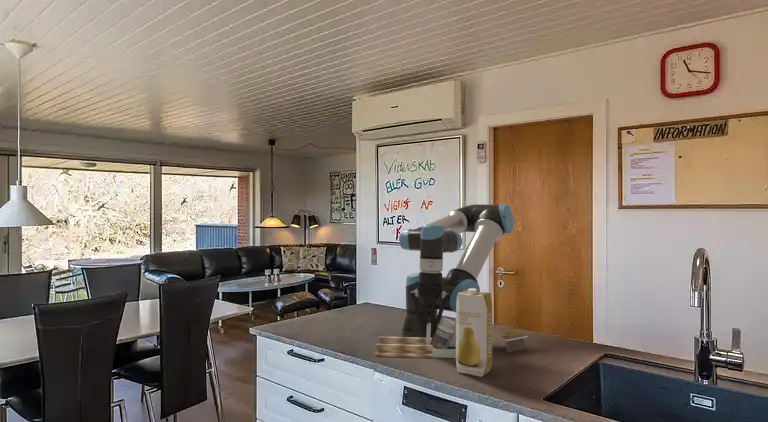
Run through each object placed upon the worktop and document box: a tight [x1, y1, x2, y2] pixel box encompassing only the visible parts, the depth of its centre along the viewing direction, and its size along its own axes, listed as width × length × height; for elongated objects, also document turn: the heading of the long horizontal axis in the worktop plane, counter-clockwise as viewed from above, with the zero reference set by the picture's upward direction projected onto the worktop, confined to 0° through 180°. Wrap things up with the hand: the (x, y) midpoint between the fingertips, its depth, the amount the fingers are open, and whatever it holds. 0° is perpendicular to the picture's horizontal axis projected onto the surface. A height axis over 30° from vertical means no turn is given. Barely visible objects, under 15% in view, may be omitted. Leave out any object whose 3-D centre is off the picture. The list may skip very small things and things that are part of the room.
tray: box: [432, 338, 456, 359], centre depth 162 cm, size 14×14×2 cm
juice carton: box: [455, 288, 493, 378], centre depth 142 cm, size 9×8×24 cm
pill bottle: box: [430, 317, 456, 349], centre depth 162 cm, size 6×6×10 cm
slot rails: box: [374, 336, 434, 359], centre depth 163 cm, size 18×15×3 cm
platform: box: [501, 330, 529, 354], centre depth 164 cm, size 12×18×7 cm, turn 123°
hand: (428, 343), depth 162 cm, fingers closed
